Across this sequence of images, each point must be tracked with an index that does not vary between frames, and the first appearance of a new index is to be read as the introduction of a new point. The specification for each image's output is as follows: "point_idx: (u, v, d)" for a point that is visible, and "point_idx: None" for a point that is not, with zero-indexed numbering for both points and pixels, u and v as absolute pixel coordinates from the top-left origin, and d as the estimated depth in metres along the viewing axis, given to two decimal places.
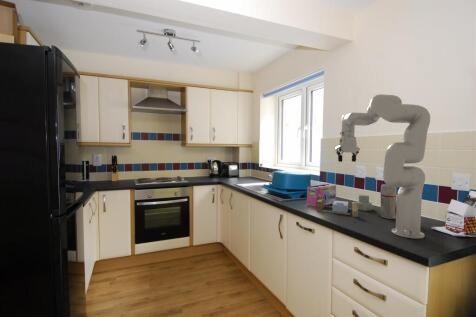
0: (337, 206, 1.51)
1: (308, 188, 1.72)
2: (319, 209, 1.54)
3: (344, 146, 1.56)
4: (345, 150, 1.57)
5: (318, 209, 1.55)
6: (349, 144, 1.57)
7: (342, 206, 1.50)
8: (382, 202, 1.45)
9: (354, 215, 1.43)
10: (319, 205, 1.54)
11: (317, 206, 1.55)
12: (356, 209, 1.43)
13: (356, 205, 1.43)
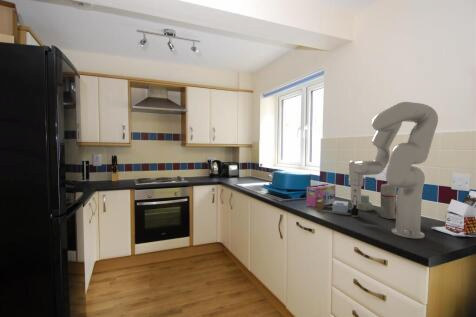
0: (337, 206, 1.51)
1: (307, 188, 1.71)
2: (319, 209, 1.54)
3: (360, 197, 1.39)
4: (360, 201, 1.40)
5: (318, 209, 1.55)
6: None
7: (342, 206, 1.50)
8: (382, 202, 1.45)
9: None
10: (319, 205, 1.54)
11: (317, 206, 1.55)
12: None
13: None
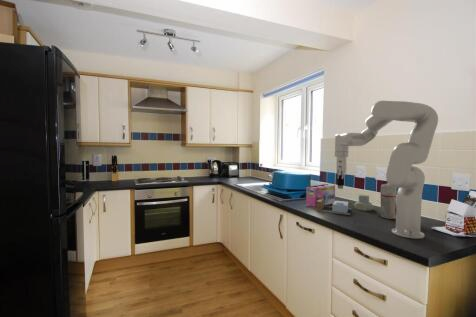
0: (337, 206, 1.51)
1: (307, 188, 1.71)
2: (319, 209, 1.54)
3: (345, 167, 1.48)
4: (345, 171, 1.48)
5: (318, 209, 1.55)
6: None
7: (342, 206, 1.50)
8: (382, 202, 1.45)
9: None
10: (319, 205, 1.54)
11: (317, 206, 1.55)
12: None
13: None
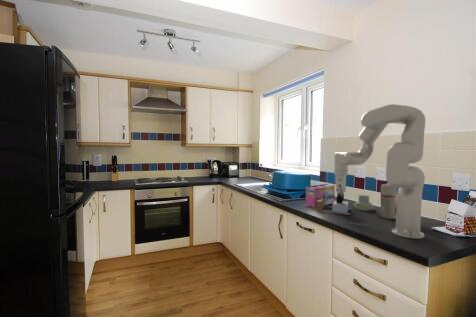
0: (337, 206, 1.51)
1: (307, 188, 1.71)
2: (319, 209, 1.54)
3: (344, 186, 1.48)
4: (345, 190, 1.49)
5: (318, 209, 1.55)
6: (345, 183, 1.51)
7: (342, 206, 1.50)
8: (382, 202, 1.45)
9: None
10: (319, 205, 1.54)
11: (317, 206, 1.55)
12: (341, 204, 1.51)
13: None
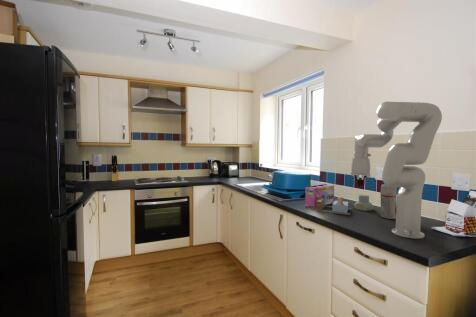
0: (337, 206, 1.51)
1: (306, 188, 1.71)
2: (319, 209, 1.54)
3: None
4: None
5: (318, 209, 1.55)
6: None
7: (342, 206, 1.50)
8: (382, 202, 1.45)
9: None
10: (319, 205, 1.54)
11: (317, 206, 1.55)
12: (341, 204, 1.52)
13: (341, 200, 1.51)
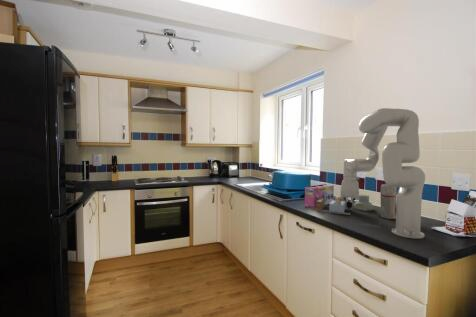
0: (334, 206, 1.52)
1: (306, 188, 1.71)
2: (319, 209, 1.54)
3: None
4: None
5: (318, 209, 1.55)
6: None
7: (339, 206, 1.51)
8: (382, 202, 1.45)
9: None
10: (319, 205, 1.54)
11: (317, 206, 1.55)
12: (339, 203, 1.52)
13: (339, 200, 1.52)
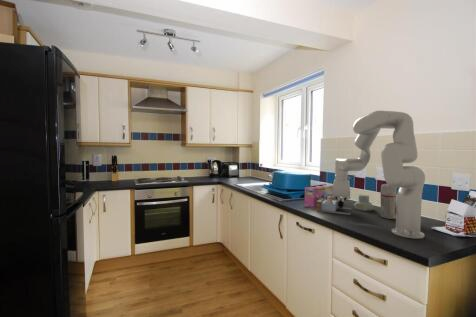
0: (326, 205, 1.54)
1: (306, 188, 1.71)
2: (319, 209, 1.54)
3: None
4: None
5: (318, 209, 1.55)
6: None
7: (330, 205, 1.53)
8: (382, 202, 1.45)
9: None
10: (319, 205, 1.54)
11: (317, 206, 1.55)
12: (330, 203, 1.54)
13: (330, 199, 1.54)
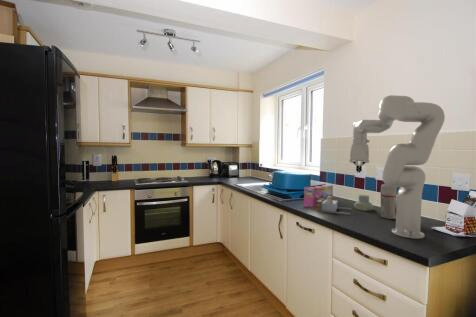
0: (326, 205, 1.54)
1: (305, 188, 1.71)
2: (319, 209, 1.54)
3: None
4: None
5: (318, 209, 1.55)
6: None
7: (331, 205, 1.53)
8: (382, 202, 1.45)
9: None
10: (319, 205, 1.54)
11: (317, 206, 1.55)
12: (330, 203, 1.54)
13: (330, 199, 1.54)
